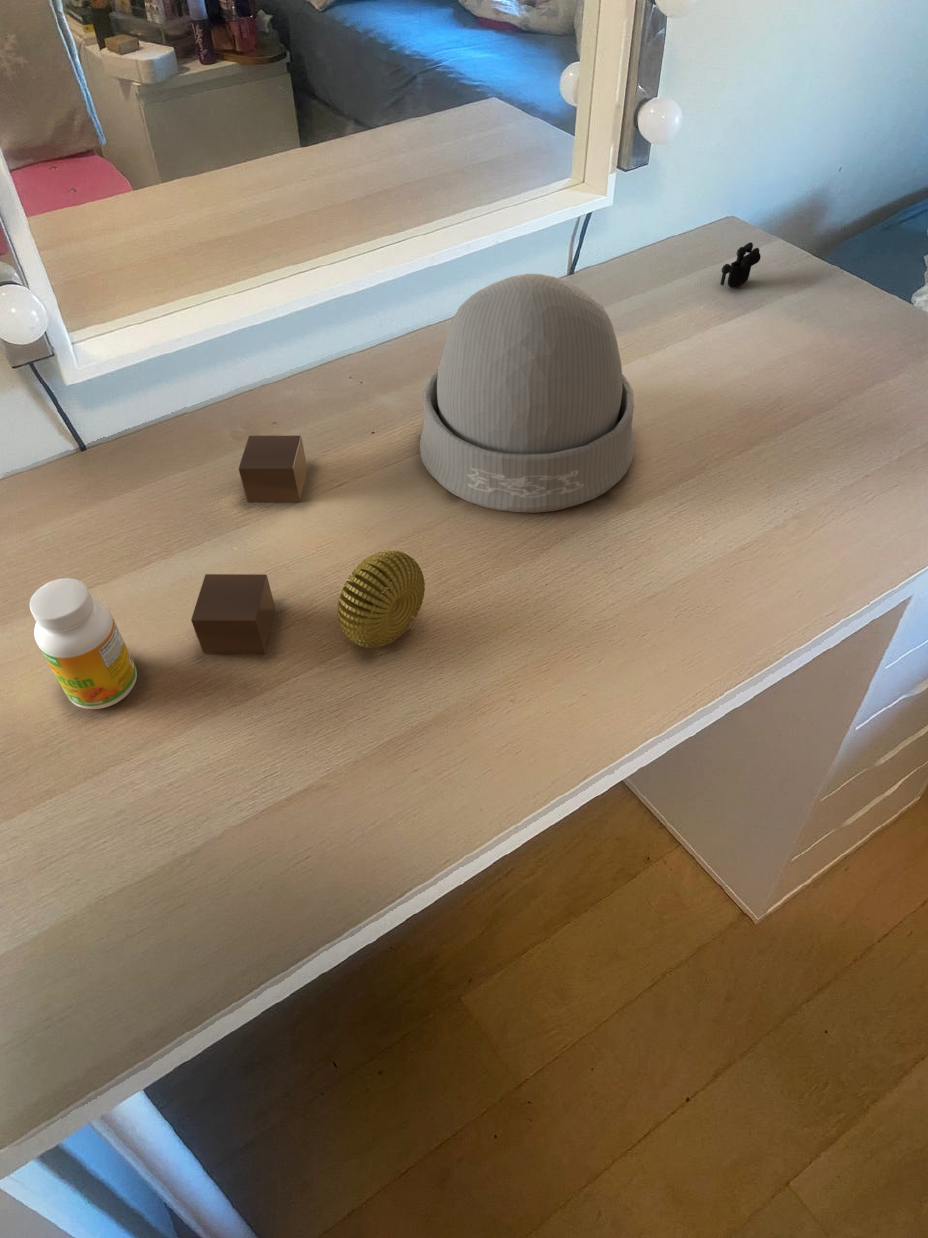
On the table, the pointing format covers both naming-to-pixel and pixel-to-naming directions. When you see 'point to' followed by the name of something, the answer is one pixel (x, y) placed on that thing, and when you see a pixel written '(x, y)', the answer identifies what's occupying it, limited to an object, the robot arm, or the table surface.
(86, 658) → the supplement bottle
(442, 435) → the beanie hat
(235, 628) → the block near
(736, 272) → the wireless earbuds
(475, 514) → the table surface
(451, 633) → the table surface
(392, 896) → the table surface
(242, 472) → the block far
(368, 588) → the sculpture
